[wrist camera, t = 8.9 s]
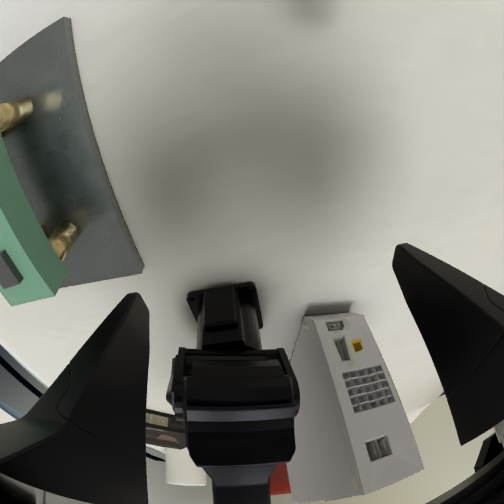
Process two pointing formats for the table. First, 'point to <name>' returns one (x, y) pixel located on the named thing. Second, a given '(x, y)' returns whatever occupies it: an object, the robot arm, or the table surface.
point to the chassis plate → (62, 159)
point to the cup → (183, 469)
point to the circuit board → (23, 244)
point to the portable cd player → (164, 430)
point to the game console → (346, 414)
